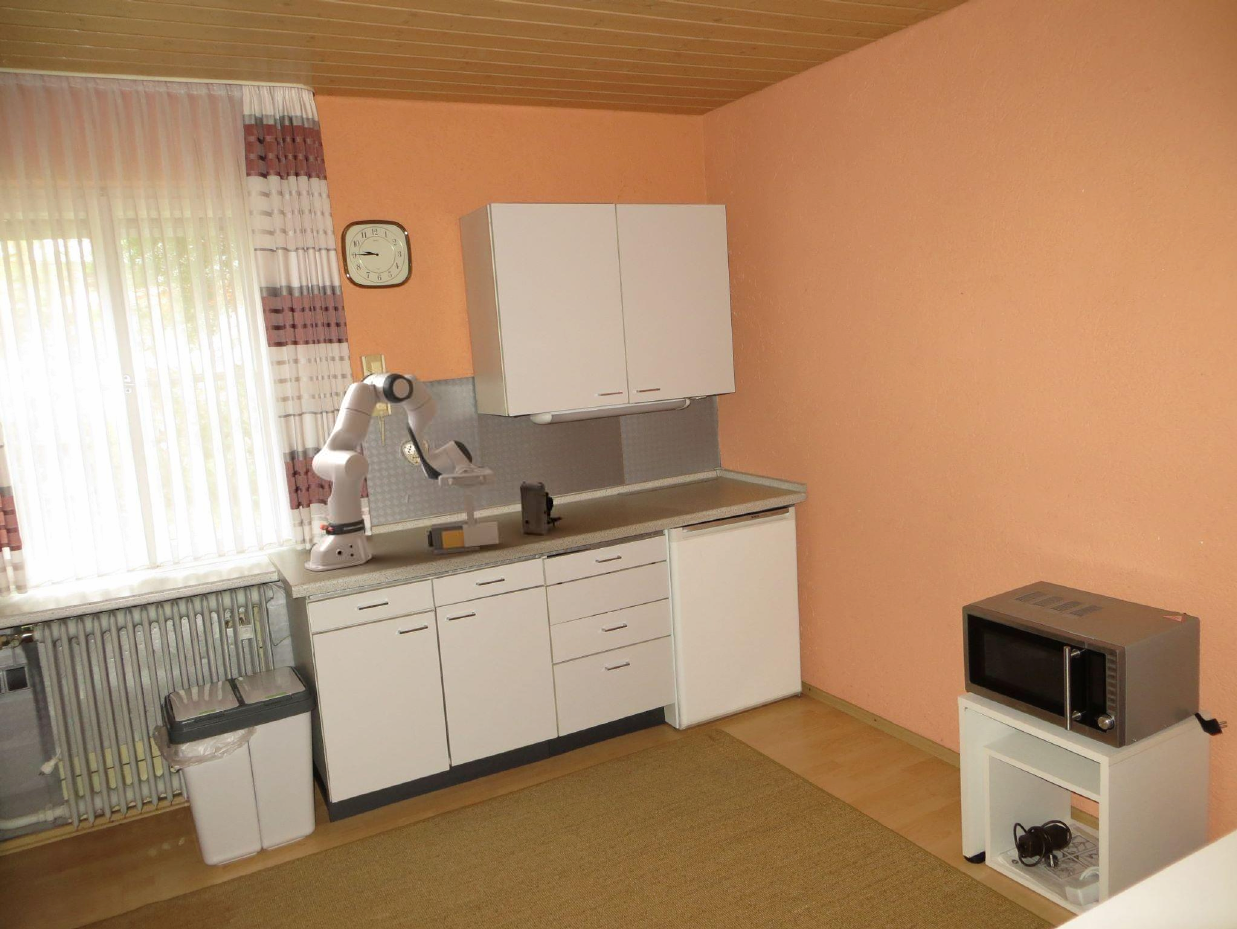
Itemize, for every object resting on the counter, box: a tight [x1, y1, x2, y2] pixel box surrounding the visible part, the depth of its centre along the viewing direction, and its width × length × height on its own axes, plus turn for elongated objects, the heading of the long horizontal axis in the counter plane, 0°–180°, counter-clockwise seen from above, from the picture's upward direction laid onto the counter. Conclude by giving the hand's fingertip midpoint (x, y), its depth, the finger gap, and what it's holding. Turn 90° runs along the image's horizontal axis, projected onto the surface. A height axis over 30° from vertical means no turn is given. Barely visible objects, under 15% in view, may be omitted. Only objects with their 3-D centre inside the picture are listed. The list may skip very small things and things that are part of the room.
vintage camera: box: [519, 481, 565, 536], centre depth 342 cm, size 10×16×20 cm, turn 149°
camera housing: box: [426, 518, 480, 556], centre depth 321 cm, size 18×10×10 cm, turn 101°
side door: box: [463, 492, 500, 547], centre depth 318 cm, size 12×2×19 cm, turn 101°
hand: (466, 481), depth 328 cm, fingers open, 8 cm apart
